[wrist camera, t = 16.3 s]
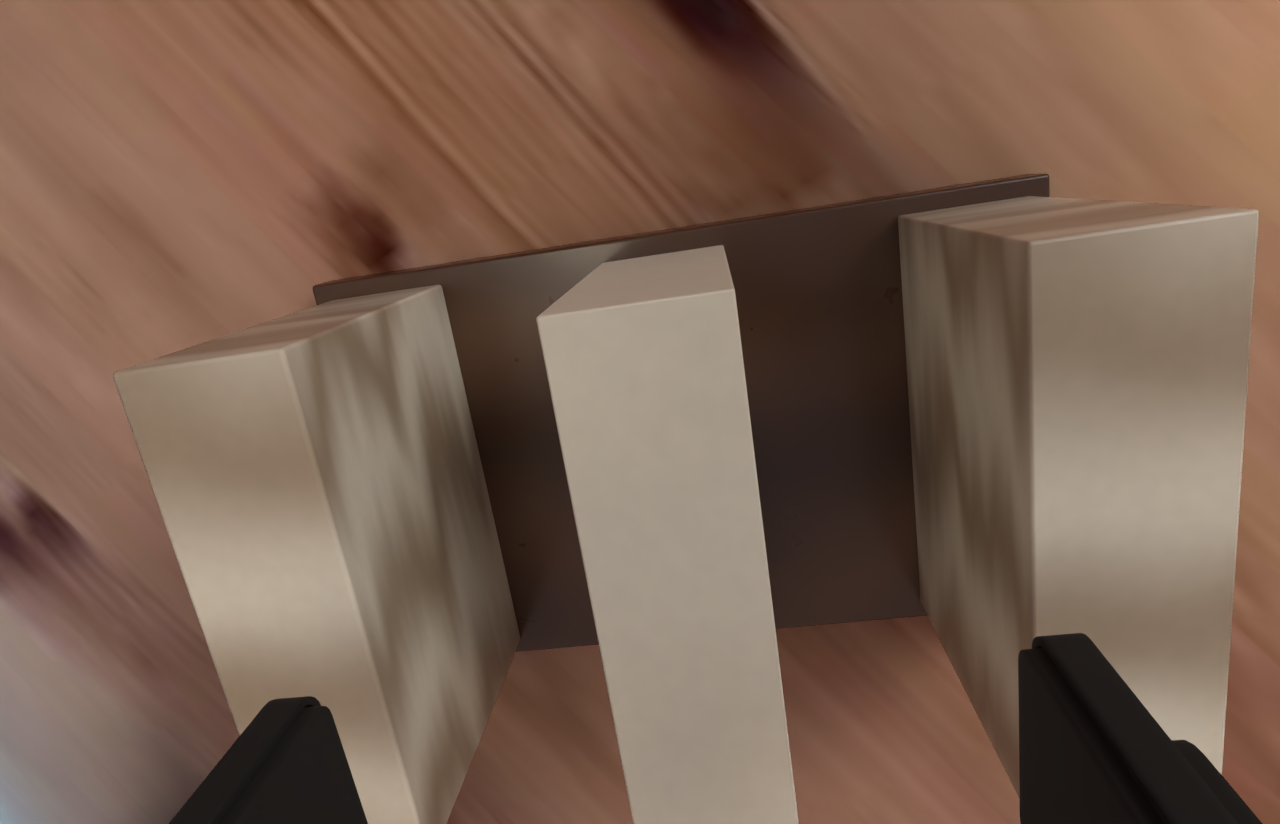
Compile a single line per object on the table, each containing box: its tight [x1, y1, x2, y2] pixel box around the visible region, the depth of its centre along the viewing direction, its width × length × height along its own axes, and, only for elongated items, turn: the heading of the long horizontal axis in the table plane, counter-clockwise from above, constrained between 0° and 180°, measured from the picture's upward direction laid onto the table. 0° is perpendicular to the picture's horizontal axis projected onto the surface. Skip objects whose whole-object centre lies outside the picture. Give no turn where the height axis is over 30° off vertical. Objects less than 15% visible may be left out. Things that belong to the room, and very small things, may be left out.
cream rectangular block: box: [536, 245, 799, 824], centre depth 19 cm, size 12×4×9 cm, turn 9°
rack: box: [113, 174, 1259, 824], centre depth 20 cm, size 13×21×10 cm, turn 99°
